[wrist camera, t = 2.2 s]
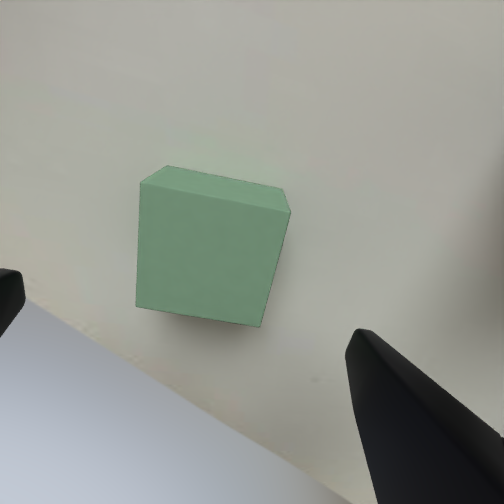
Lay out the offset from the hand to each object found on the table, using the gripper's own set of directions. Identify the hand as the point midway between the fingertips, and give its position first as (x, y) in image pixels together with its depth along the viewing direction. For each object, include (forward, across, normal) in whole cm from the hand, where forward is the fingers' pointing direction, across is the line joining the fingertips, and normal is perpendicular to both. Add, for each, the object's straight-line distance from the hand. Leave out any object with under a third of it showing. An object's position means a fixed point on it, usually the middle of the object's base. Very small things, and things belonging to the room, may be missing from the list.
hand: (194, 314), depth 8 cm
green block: (+6, 0, 0) cm, 6 cm away
